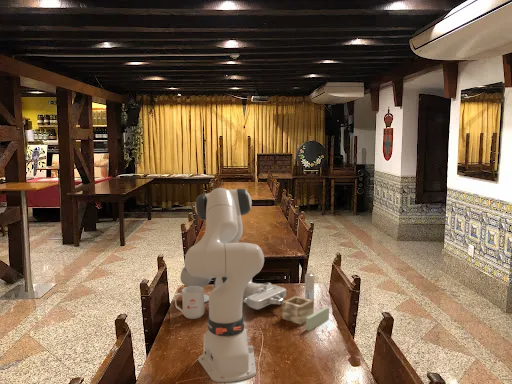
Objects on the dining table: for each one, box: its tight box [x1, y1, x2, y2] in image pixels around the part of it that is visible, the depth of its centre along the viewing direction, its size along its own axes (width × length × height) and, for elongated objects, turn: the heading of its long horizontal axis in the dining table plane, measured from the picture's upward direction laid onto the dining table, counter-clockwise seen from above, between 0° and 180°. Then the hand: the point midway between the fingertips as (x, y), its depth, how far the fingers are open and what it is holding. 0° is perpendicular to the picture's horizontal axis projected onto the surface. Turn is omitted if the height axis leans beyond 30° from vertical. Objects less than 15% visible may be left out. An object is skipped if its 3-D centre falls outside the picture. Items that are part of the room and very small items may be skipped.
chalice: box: [179, 266, 213, 304], centre depth 198 cm, size 14×14×15 cm
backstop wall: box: [305, 306, 330, 332], centre depth 172 cm, size 2×14×5 cm, turn 139°
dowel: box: [304, 272, 315, 302], centre depth 190 cm, size 4×4×14 cm
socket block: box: [281, 295, 315, 325], centre depth 178 cm, size 9×9×7 cm
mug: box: [174, 286, 205, 320], centre depth 181 cm, size 12×9×11 cm
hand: (281, 301), depth 183 cm, fingers closed
